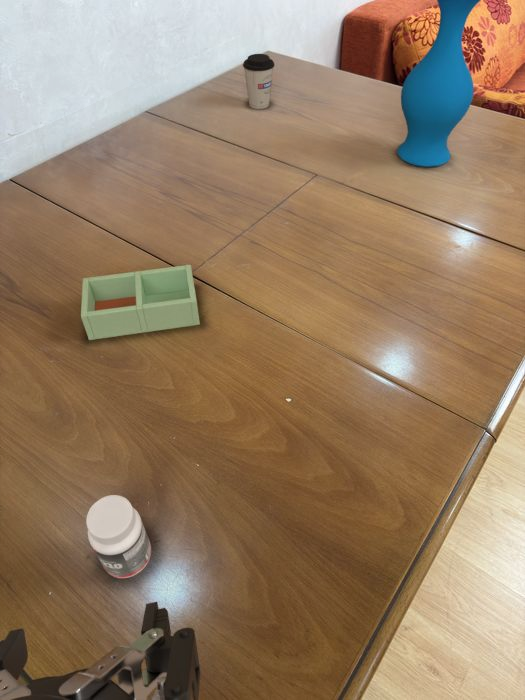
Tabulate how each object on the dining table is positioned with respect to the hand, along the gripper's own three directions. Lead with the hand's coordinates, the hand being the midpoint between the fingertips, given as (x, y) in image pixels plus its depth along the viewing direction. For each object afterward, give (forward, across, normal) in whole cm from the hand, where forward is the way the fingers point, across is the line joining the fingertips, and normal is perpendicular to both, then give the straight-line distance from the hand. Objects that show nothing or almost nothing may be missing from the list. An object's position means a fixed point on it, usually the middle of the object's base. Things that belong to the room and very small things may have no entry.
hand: (87, 629), depth 35 cm
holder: (+42, -3, -22) cm, 47 cm away
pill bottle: (+18, 0, +2) cm, 18 cm away
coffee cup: (+88, -32, -68) cm, 116 cm away
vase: (+66, -59, -46) cm, 100 cm away
